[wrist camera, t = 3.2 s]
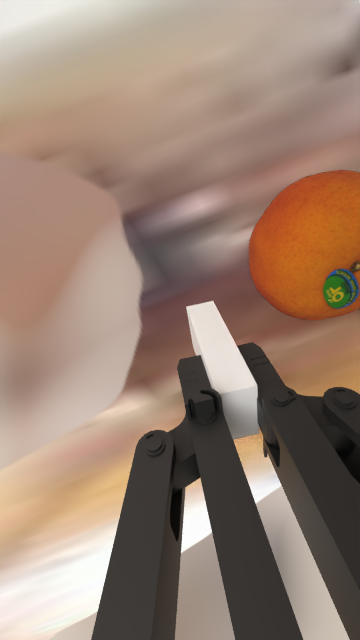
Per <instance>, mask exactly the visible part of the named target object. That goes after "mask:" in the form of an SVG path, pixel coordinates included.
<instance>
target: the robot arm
mask: <svg viewBox="0 0 360 640" xmlns="http://www.w3.org/2000/svg"><path fill="white" fill-rule="evenodd" d="M186 309H187V314H188V320H189V326H190V331H191V337H192V342H193V347H194V351H195V354H196V356H193V357H189V358H184V359H180V361H179V364H178V367H177V369H178V374H179V379H180V383H181V388H182V393H183V397H184V402H185V408H186V415H185V418H184V420H183V421H182V423H181V424H180V425H179V426H177V427H176V428H174V429H173V430H171V431H169V432H165V431H162V430H154V431H150V432H148V433H147V434H145V435H144V436H143V437H142V438H141V439H140V440H139V442H138V444H137V446H136V450H135V454H134V459H133V463H132V467H131V471H130V476H129V480H128V484H127V489H126V493H125V497H124V502H123V506H122V510H121V514H120V519H119V523H118V527H117V532H116V536H115V540H114V544H113V549H112V553H111V557H110V562H109V566H108V570H107V574H106V579H105V583H104V587H103V592H102V596H101V600H100V604H99V609H98V613H97V617H96V622H95V626H94V630H93V635H92V639H91V640H175V627H176V613H177V599H178V585H179V570H180V556H181V542H182V528H183V514H184V500H185V487H186V486H188V485H189V484H191V483H192V482H194V481H196V480H197V479H199V478H200V477H201V482H202V487H203V491H204V496H205V501H206V505H207V510H208V515H209V519H210V524H211V529H212V533H213V538H214V542H215V547H216V552H217V556H218V561H219V566H220V570H221V575H222V579H223V584H224V589H225V594H226V598H227V603H228V608H229V612H230V617H231V622H232V626H233V631H234V635H235V640H303V638H302V635H301V632H300V629H299V626H298V624H297V621H296V618H295V615H294V612H293V609H292V606H291V603H290V601H289V598H288V595H287V592H286V589H285V587H284V584H283V581H282V578H281V575H280V572H279V570H278V567H277V564H276V561H275V558H274V555H273V552H272V549H271V547H270V544H269V541H268V538H267V535H266V532H265V530H264V527H263V524H262V521H261V518H260V515H259V512H258V510H257V507H256V504H255V501H254V498H253V495H252V493H251V490H250V487H249V484H248V481H247V478H246V475H245V473H244V470H243V467H242V464H241V461H240V458H239V456H238V453H237V450H236V447H235V444H234V441H233V439H237V438H242V437H246V436H250V435H254V434H258V433H259V427H260V429H261V431H262V434H263V452H264V457H267V453H268V455H269V458H270V460H271V462H272V464H273V467H274V469H275V471H276V473H277V476H278V478H279V480H280V482H281V485H282V487H283V489H284V491H285V494H286V496H287V498H288V501H289V503H290V505H291V507H292V510H293V512H294V514H295V516H296V519H297V521H298V523H299V526H300V528H301V530H302V532H303V534H304V537H305V539H306V541H307V544H308V546H309V548H310V550H311V553H312V555H313V557H314V560H315V562H316V564H317V566H318V568H319V571H320V573H321V575H322V578H323V580H324V582H325V584H326V587H327V589H328V591H329V593H330V596H331V598H332V600H333V603H334V605H335V607H336V609H337V612H338V614H339V616H340V618H341V621H342V623H343V625H344V628H345V630H346V632H347V634H348V636H349V639H350V640H360V394H358V393H356V392H355V391H353V390H351V389H347V388H344V387H334V388H330V389H328V390H327V391H326V392H325V393H324V396H323V397H316V396H303V395H299V394H297V393H296V392H295V391H294V390H292V389H290V388H288V387H286V386H285V384H284V383H283V381H282V380H281V378H280V377H279V375H278V373H277V372H276V370H275V369H274V367H273V366H272V364H271V363H270V361H269V359H268V358H267V357H266V355H265V353H264V352H263V350H262V349H261V348H260V347H259V346H257V345H256V344H254V343H253V342H252V343H248V344H243V345H239V346H236V344H235V342H234V340H233V338H232V336H231V334H230V332H229V330H228V328H227V327H226V325H225V323H224V321H223V319H222V317H221V315H220V313H219V311H218V310H217V308H216V306H215V304H214V302H213V301H210V302H206V303H201V304H197V305H192V306H188V307H186Z"/></svg>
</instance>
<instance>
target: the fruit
mask: <svg viewBox="0 0 360 640" xmlns="http://www.w3.org/2000/svg"><path fill="white" fill-rule="evenodd" d="M249 265H250V273H251V276H252V279H253V281H254V284H255V286H256V288H257V290H258V291H259V292H260V293H261V295H262V296H263V297H264V298H265V299H266V300H267V301H268V302H269V303H270V304H271V305H272V306H273V307H275V308H276V309H277V310H279V311H280V312H282V313H284V314H287V315H289V316H292V317H295V318H299V319H306V320H321V319H325V318H331V317H337V316H342V315H345V314H347V313H350V312H352V311H354V310H356V309H358V308H360V173H359V172H354V171H347V170H338V171H330V172H323V173H319V174H316V175H311V176H307V177H305V178H303V179H301V180H299V181H297V182H295V183H293V184H291V185H289V186H288V187H287V188H286V189H284V190H283V191H282V192H281V193H280V194H278V196H277V197H276V198H275V199H274V200H273V201H272V202H271V204H270V205H269V207H268V208H267V209H266V211H265V212H264V214H263V216H262V217H261V218H260V220H259V221H258V223H257V224H256V226H255V228H254V230H253V232H252V235H251V238H250V242H249Z"/></svg>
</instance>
